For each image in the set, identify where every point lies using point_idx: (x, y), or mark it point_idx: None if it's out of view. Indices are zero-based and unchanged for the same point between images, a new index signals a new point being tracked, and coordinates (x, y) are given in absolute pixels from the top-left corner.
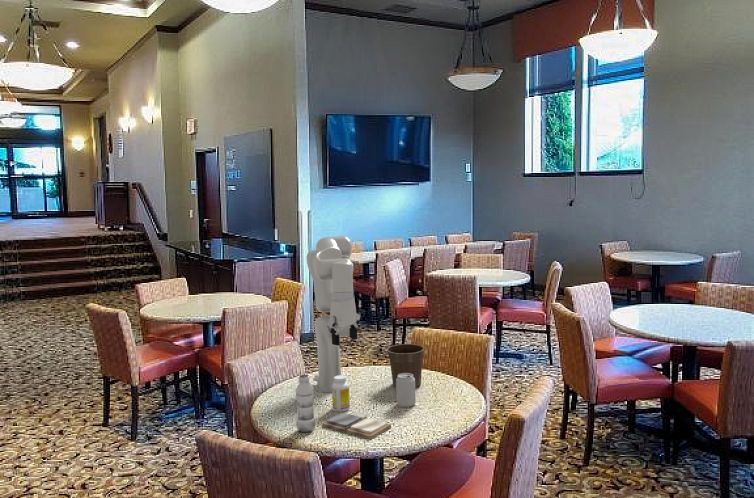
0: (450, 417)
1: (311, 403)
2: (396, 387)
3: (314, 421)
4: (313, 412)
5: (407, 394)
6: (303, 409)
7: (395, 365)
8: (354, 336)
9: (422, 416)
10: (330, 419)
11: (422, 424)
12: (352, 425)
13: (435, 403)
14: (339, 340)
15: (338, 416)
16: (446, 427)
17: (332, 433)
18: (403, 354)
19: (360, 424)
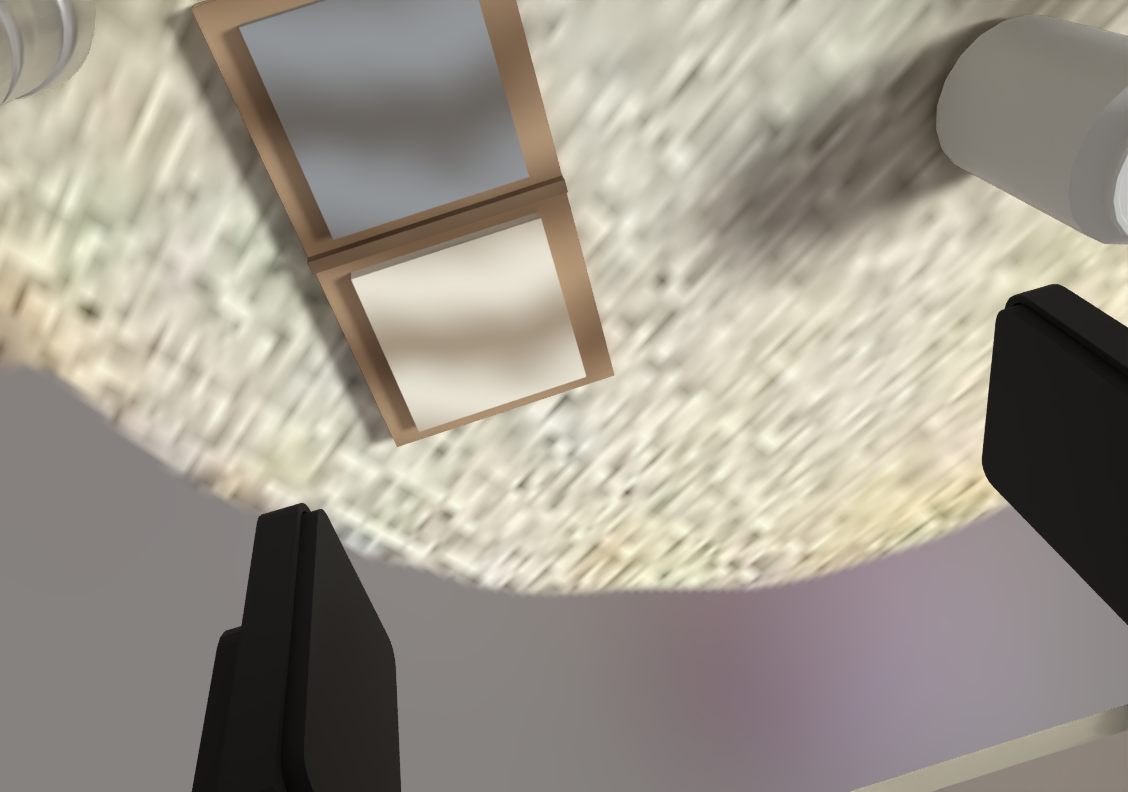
0: (942, 438)
1: None
2: (1047, 96)
3: (61, 79)
4: (35, 76)
5: (1011, 194)
6: None
7: None
8: (1029, 484)
9: (869, 338)
10: (277, 35)
11: (770, 428)
12: (372, 273)
13: None
14: (396, 750)
15: (379, 22)
16: (814, 520)
17: (213, 196)
18: None
19: (433, 293)
